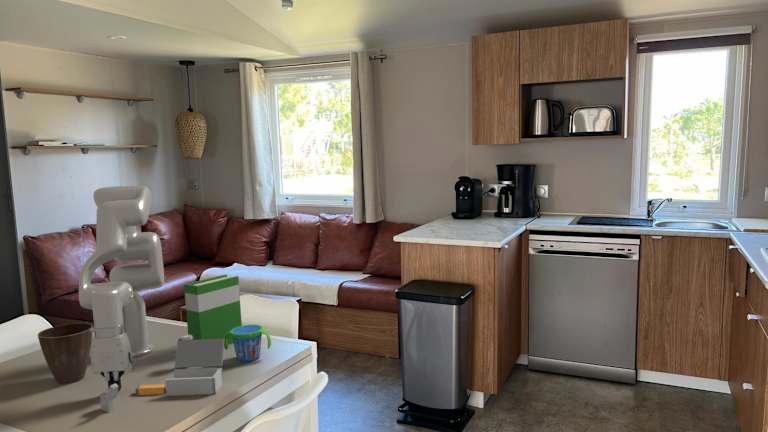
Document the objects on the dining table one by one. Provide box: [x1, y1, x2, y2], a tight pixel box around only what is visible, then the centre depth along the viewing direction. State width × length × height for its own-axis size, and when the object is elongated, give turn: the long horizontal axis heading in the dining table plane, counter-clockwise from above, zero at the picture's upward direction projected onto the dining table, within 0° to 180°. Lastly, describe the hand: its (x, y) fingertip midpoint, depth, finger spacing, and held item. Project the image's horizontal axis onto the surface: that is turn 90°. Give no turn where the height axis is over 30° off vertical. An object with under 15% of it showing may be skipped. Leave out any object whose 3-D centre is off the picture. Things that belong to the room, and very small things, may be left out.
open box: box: [164, 366, 224, 397], centre depth 164 cm, size 14×8×5 cm, turn 90°
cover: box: [174, 339, 225, 369], centre depth 170 cm, size 14×8×1 cm
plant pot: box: [37, 322, 94, 385], centre depth 175 cm, size 15×15×16 cm
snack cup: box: [224, 324, 272, 363], centre depth 188 cm, size 16×10×10 cm
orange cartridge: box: [135, 383, 166, 396], centre depth 163 cm, size 9×2×2 cm, turn 90°
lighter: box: [99, 383, 119, 413], centre depth 152 cm, size 7×2×8 cm, turn 56°
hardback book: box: [183, 274, 243, 346], centre depth 202 cm, size 18×7×24 cm, turn 144°
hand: (115, 392), depth 163 cm, fingers closed
